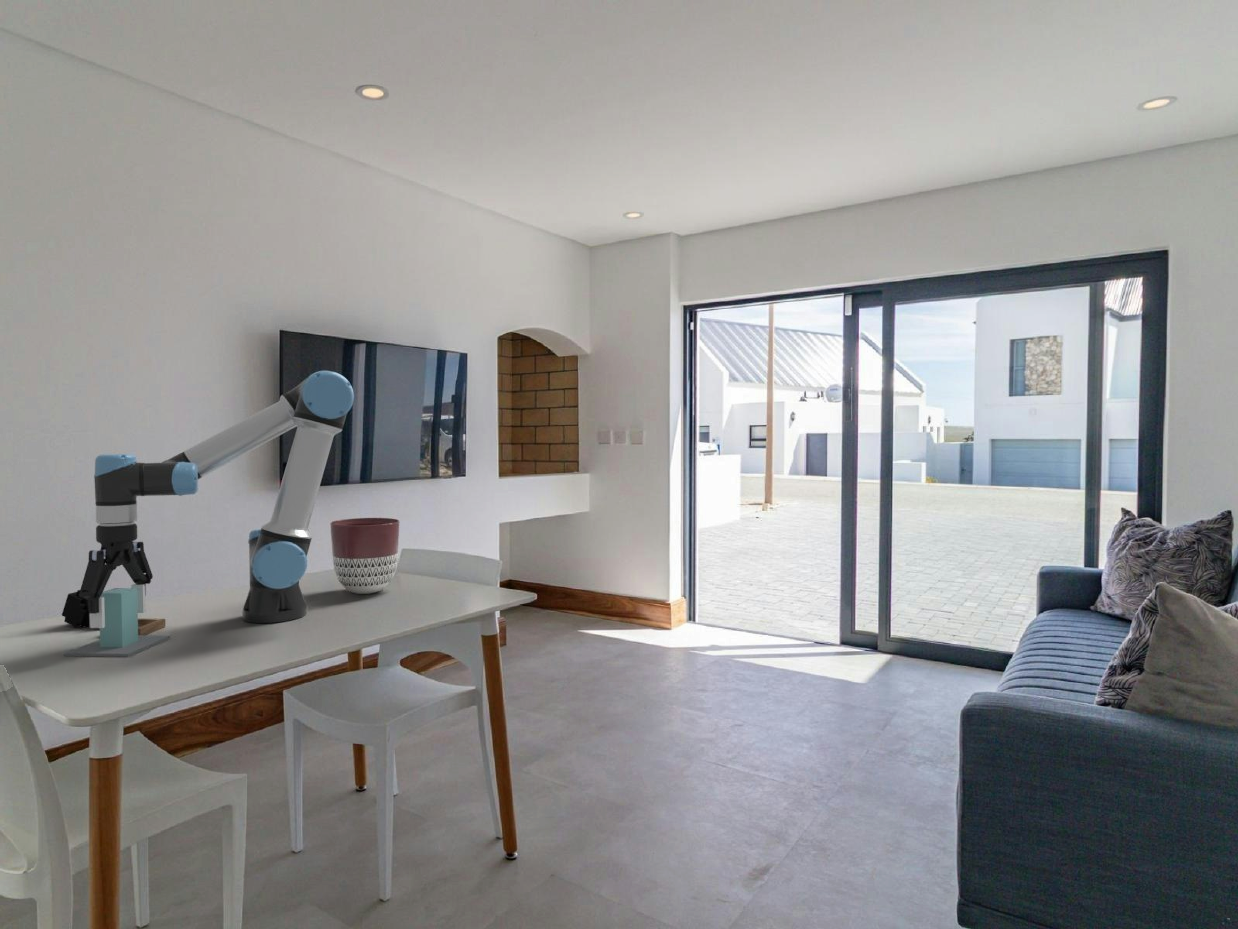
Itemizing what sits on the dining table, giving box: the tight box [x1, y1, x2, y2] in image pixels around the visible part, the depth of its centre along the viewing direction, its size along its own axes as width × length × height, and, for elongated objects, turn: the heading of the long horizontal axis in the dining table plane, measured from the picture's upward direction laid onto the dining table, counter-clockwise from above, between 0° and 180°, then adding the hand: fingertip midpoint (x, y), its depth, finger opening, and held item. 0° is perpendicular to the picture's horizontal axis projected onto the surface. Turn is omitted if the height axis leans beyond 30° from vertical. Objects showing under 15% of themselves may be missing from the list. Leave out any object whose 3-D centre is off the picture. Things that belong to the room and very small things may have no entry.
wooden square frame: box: [138, 617, 166, 635], centre depth 173 cm, size 9×9×2 cm
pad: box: [63, 634, 172, 658], centre depth 161 cm, size 14×14×1 cm
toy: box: [61, 589, 96, 628], centre depth 178 cm, size 9×8×15 cm
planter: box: [330, 517, 400, 595], centre depth 217 cm, size 20×20×21 cm
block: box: [99, 587, 139, 647], centre depth 161 cm, size 5×5×12 cm
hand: (118, 620), depth 161 cm, fingers open, 12 cm apart
